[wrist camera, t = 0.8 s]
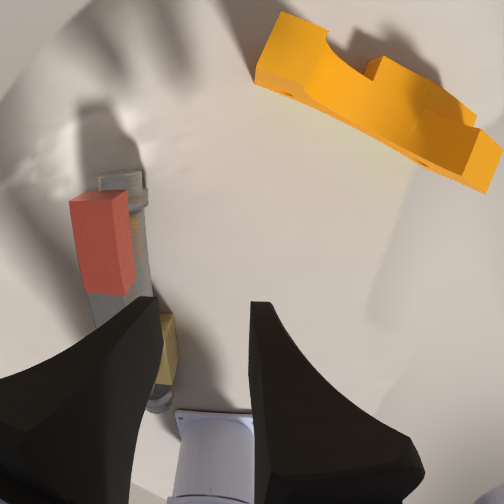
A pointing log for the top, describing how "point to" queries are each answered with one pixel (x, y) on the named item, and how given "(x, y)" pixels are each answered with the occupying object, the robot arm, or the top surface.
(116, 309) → the lever
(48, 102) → the top surface
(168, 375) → the cylinder
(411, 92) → the pipe clamp
